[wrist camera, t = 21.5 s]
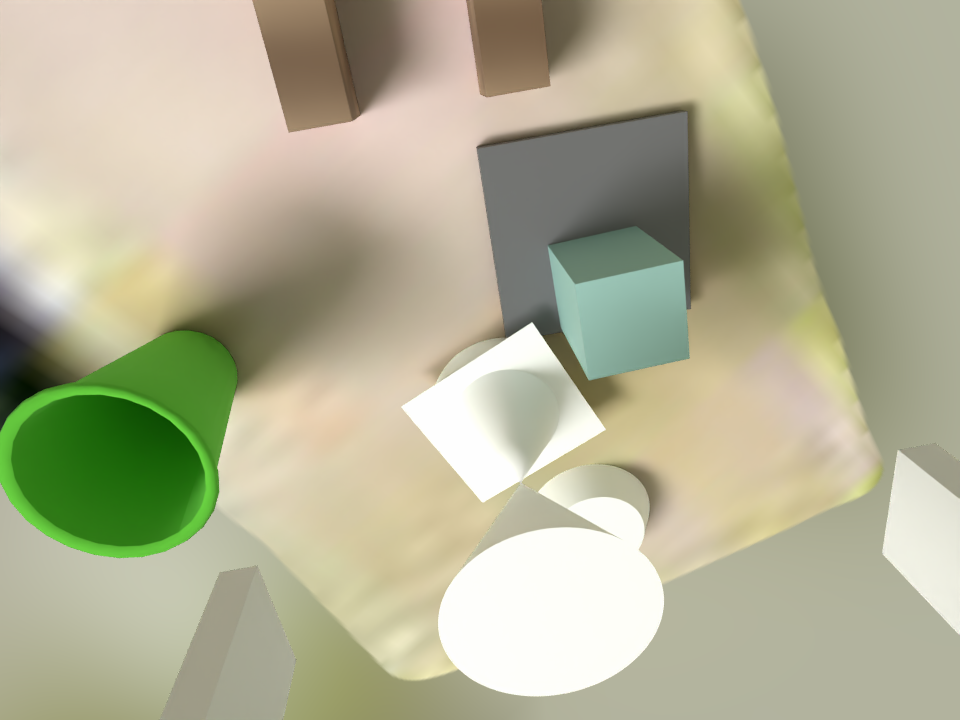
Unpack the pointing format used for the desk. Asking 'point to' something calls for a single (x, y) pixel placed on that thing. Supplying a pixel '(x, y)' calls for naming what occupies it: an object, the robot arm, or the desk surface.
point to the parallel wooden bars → (326, 73)
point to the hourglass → (538, 527)
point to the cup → (124, 449)
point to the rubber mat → (581, 202)
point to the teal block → (620, 301)
